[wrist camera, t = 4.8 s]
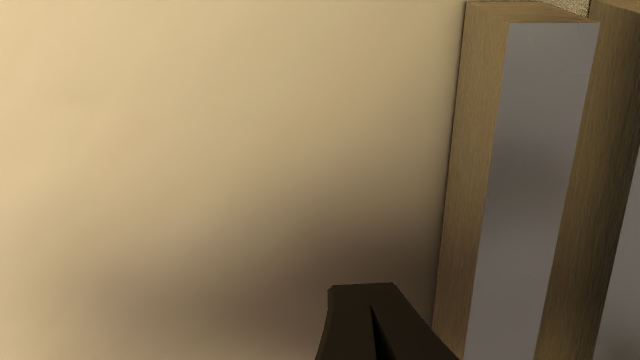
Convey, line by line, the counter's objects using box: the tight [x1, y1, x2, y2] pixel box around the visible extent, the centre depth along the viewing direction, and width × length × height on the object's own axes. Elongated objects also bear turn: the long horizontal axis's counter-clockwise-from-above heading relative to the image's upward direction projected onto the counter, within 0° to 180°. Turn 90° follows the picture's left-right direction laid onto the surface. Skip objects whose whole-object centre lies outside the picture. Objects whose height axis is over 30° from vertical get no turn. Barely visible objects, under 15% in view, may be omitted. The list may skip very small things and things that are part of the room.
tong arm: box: [432, 1, 600, 360], centre depth 12 cm, size 2×12×2 cm, turn 0°
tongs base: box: [533, 0, 640, 360], centre depth 12 cm, size 4×15×2 cm, turn 1°
